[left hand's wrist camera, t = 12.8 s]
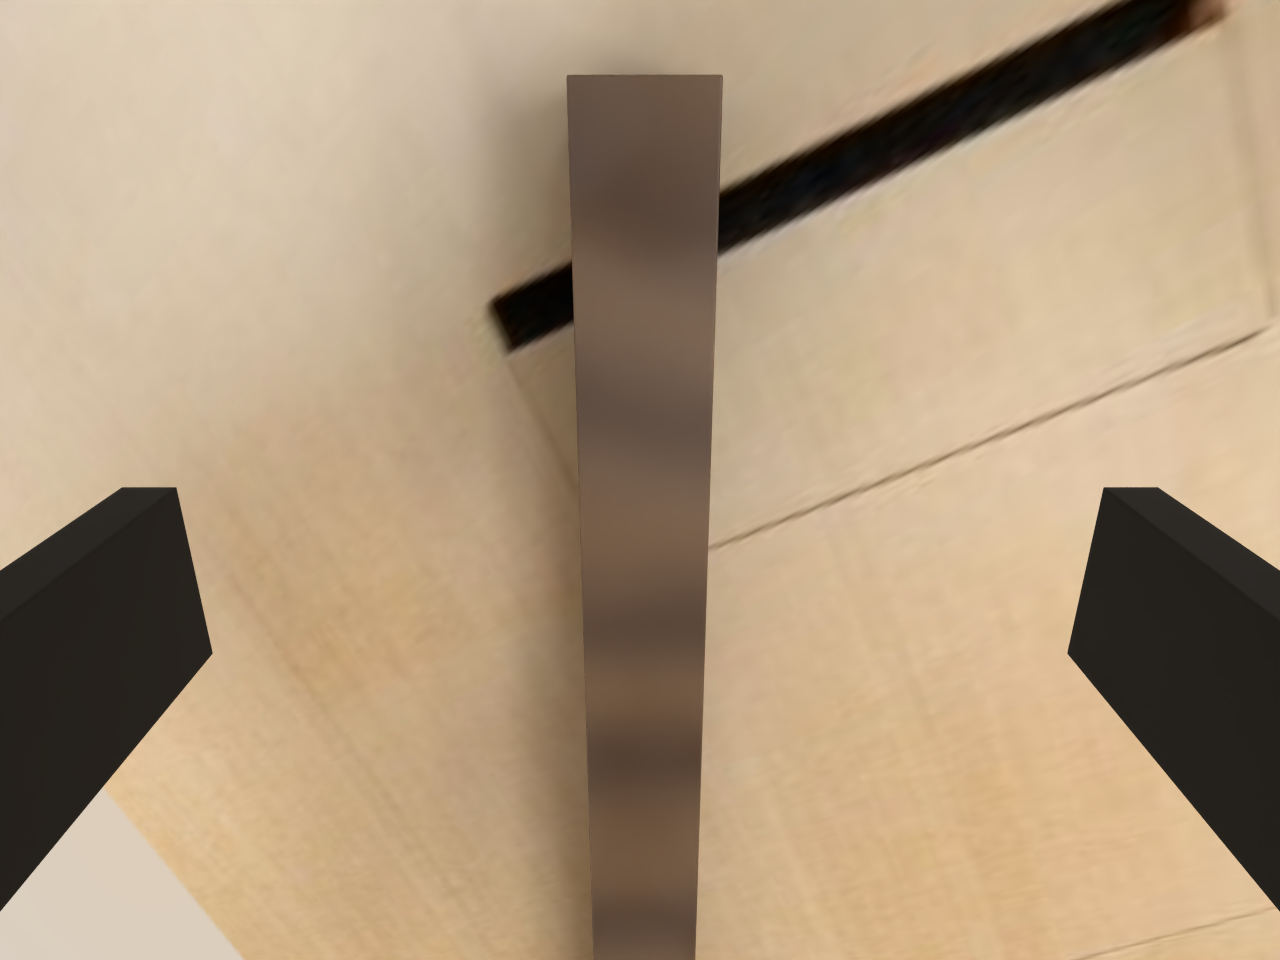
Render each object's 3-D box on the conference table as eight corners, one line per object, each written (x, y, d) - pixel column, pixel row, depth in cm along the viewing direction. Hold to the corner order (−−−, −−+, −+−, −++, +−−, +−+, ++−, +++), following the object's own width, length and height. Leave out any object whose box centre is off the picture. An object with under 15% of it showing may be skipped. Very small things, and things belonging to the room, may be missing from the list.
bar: (582, 87, 35) (566, 74, 27) (705, 87, 35) (723, 74, 27) (609, 1205, 63) (605, 1351, 55) (677, 1205, 63) (682, 1351, 55)
